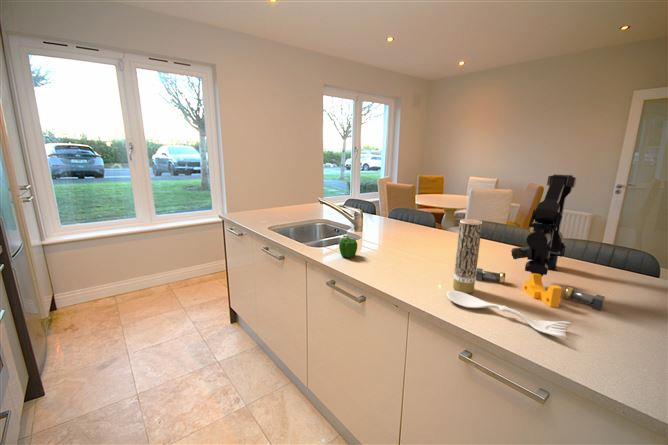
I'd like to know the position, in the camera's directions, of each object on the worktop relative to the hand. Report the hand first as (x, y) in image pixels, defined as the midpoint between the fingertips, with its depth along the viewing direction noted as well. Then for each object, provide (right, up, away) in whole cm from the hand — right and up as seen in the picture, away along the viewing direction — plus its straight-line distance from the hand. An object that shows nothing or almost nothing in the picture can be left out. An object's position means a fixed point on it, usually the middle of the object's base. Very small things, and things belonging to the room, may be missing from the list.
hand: (534, 283), depth 107 cm
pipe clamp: (-4, -3, -8) cm, 9 cm away
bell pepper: (-66, +6, +30) cm, 73 cm away
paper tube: (-27, -2, -3) cm, 27 cm away
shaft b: (-14, 0, +5) cm, 15 cm away
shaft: (+8, -4, -11) cm, 14 cm away
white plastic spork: (-23, -6, -19) cm, 31 cm away
